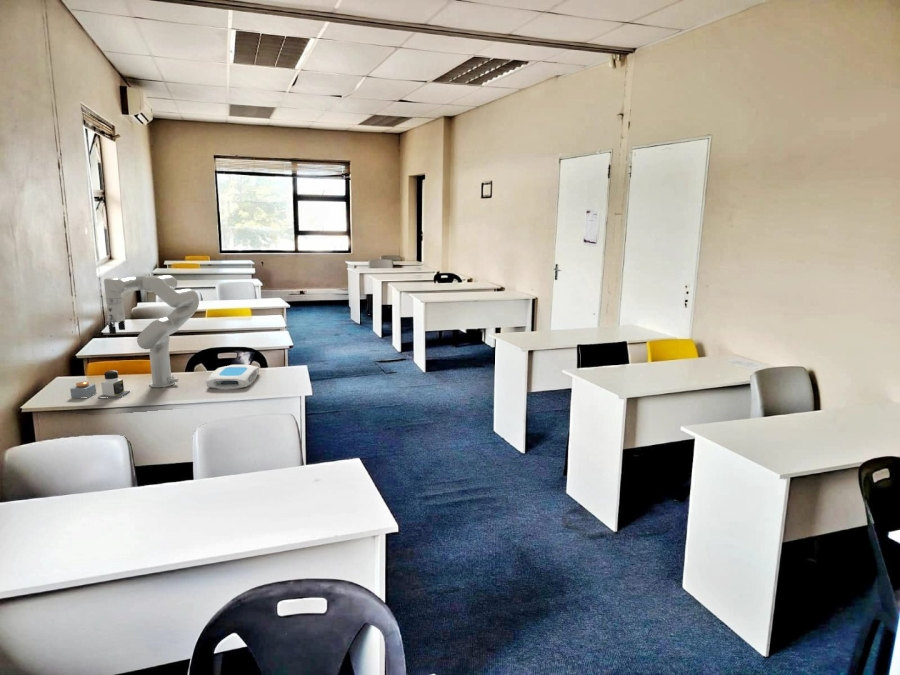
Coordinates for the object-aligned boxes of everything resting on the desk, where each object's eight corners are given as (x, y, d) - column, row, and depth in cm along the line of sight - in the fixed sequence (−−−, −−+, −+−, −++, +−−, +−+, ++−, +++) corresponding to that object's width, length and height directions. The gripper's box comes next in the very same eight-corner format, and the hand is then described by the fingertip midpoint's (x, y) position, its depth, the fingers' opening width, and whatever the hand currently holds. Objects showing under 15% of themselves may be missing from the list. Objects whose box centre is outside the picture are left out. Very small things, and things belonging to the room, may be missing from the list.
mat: (129, 392, 311) (129, 390, 311) (119, 398, 301) (119, 397, 301) (109, 392, 311) (108, 390, 310) (98, 398, 301) (97, 396, 301)
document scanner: (259, 374, 346) (259, 364, 344) (246, 389, 318) (245, 378, 317) (222, 374, 344) (222, 364, 343) (206, 389, 317) (205, 378, 316)
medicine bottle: (114, 396, 302) (112, 373, 299) (102, 395, 303) (99, 373, 300) (124, 392, 309) (121, 369, 306) (112, 391, 310) (109, 369, 307)
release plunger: (92, 393, 308) (91, 381, 306) (86, 397, 302) (84, 384, 301) (81, 393, 307) (80, 381, 306) (75, 397, 302) (73, 384, 301)
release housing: (96, 393, 309) (95, 384, 308) (87, 398, 301) (85, 388, 300) (81, 393, 309) (79, 383, 308) (71, 398, 301) (70, 388, 300)
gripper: (113, 303, 310) (116, 335, 314) (129, 298, 327) (132, 328, 331) (98, 303, 310) (102, 335, 314) (115, 298, 326) (118, 328, 330)
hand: (117, 331), depth 322 cm, fingers open, 9 cm apart
